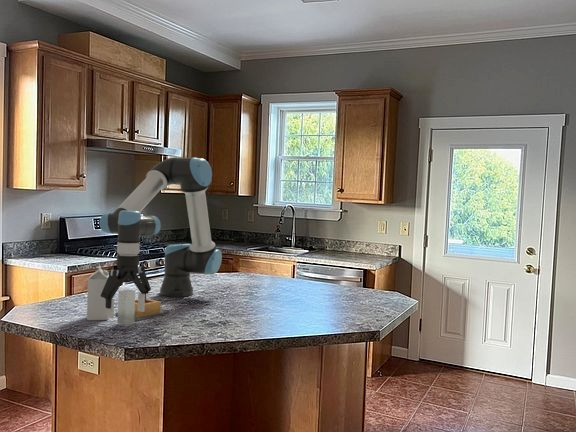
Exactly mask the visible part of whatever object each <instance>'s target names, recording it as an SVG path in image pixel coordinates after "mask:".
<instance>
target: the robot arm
mask: <svg viewBox="0 0 576 432" xmlns="http://www.w3.org/2000/svg"><path fill="white" fill-rule="evenodd" d="M212 177H213V171H212V167H211V165H210V164H209V161H207V160H206V159H204V158H202V157H201V158H200V157H199V158H198V157H175V156H174V157H169V158H166V159H164V160H162V161H160V162H158V163H157V164H156V165H154V166H153V167H152V168H151V169H150V170H148V172H147V173H146V175H145V179H143V180H142V182H141V183H140V184H139V185H138V186H137V187H136V188H135V189H134V190H133V191H132V192H131V193H130V194H129V195H128V196H127V198H125V200H124V201H123V202H122V203H121V204H120V205H119V206H118V207H117V208H116V209H115V210H114V211H113V212H112V213H111V212H106V213H103V214H102V215H101V216H100V218H99V227H100V230H101V231H102V232H103V233H107V234H113V235H117V245H116V248H117V249H116V250H117V255H116V265H117V269H109V271H108V272H109V274H108V275H109V277H108V279H107V281H106V284H105V286H104V288H103V291H102V293H101V297H103V298H105V299H106V306H105V307H106V308H107V317H108V319H114V315H115V298H114V297H115V295H116V293H117V292H118V291H119V289H120V287H121V286H122V284H124V283H125V282H129V281H130V282H133V283H134V285H135V286H136V288H137V289H138V291H139V292H138V294H137V297H138V298H137V299H138V311H141V312H144V309H145V302H146V299H147V295H148V294H149V292H151V290H152V288H151V285H150V282H149V279H148V277H147V273H146V268H145V267H144V266H139V265H140V255H139V254H140V252H141V251H140V246H141V244H140V241H141V237H152V236H155V235H157V234H159V233H160V231H161V227H162V225H161V220H160V219H159V218H158V216H155V215H149V214H148V215H142V213H141V212H142V211H143V210H144V208H146V207H147V205H149V203H150V202H151V201H152V200H153V199H154V198H155V197H156V195H158V193H159V192H160V191H161V190H162V191H163V190H164V189H166V188H167V187H168V186H171V185H179V187H180V191H181V192H182V193H183V194H185V201H186V208H187V217H188V222H189V223H188V224H189V229H190V238H191V243H181V244H179V243H177V244H169V245H167V246H166V247H165V250H164V251H165V253H164V276H163V280H162V284H161V286H160V288H159V294H160V295H162V296H163V297H164V296H165V297H175V298H177V297H178V298H179V297H188V296H189V297H190V296H192V295H193V294H194V287H193V285H192V281H191V274H200V275H206V276H207V275H209V276H211V275H215V274H217V273H218V271H219V269H220V268H221V265H222V259H223V253H222V251H221V250H220V249H217V248H216V243H215V242H214V241H213V240H212V234H211V227H210V220H209V211H208V203H207V196H206V191H207V190H208V188H209V186H210V185H211V182H212V180H213V179H212Z"/></svg>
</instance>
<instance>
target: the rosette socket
mask: <svg viewBox="0 0 576 432" xmlns="http://www.w3.org/2000/svg"><path fill="white" fill-rule="evenodd" d="M161 304H162V302H161V301H160V300H155V299H149V298H146V302H145V309H144V312H141V311H138V298H137V299H135V314H134V321H137V322H138V321H143V320H147V319H148V320H149V319H151V318H156V317H160V316H164V315H170V310H166V309H162V308H161ZM114 315H115V317H118V311H117V312H114Z"/></svg>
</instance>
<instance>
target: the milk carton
mask: <svg viewBox="0 0 576 432" xmlns="http://www.w3.org/2000/svg"><path fill="white" fill-rule="evenodd" d="M101 267H102V266H101V265H99V267H98V269H97V270H96V271H94V272H93V273H92V274H91V275H90V276H89V277H88V279H87V298H86V299H87V301H86V321H108V319H109V318H108V317H107V308H106V307H105V306H106V299H105V298H103V297H101V293H102V291H103V288H104V286H105V284H106V281H107V279H108V277H109V271H108V270H107V269H102V268H101Z"/></svg>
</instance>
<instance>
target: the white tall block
mask: <svg viewBox="0 0 576 432" xmlns="http://www.w3.org/2000/svg"><path fill="white" fill-rule="evenodd" d="M117 296H118V297H117V299H118V300H117V302H118V304H117V312H118V316H117V325H118V326H123V327H129V326H133V325H135V320H134V314H135V300H136V290H135V289H134V290H133V289H128V288H127V289H120V290H118V295H117Z"/></svg>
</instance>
